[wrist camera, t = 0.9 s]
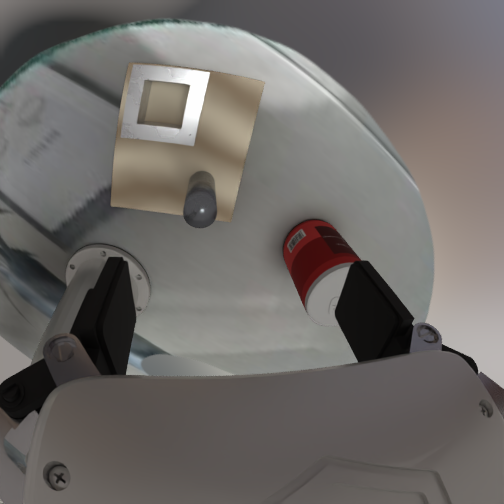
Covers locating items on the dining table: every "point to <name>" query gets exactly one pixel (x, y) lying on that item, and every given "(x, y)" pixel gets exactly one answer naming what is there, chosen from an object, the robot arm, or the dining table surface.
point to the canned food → (318, 267)
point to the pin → (200, 200)
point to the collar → (139, 97)
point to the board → (184, 156)
